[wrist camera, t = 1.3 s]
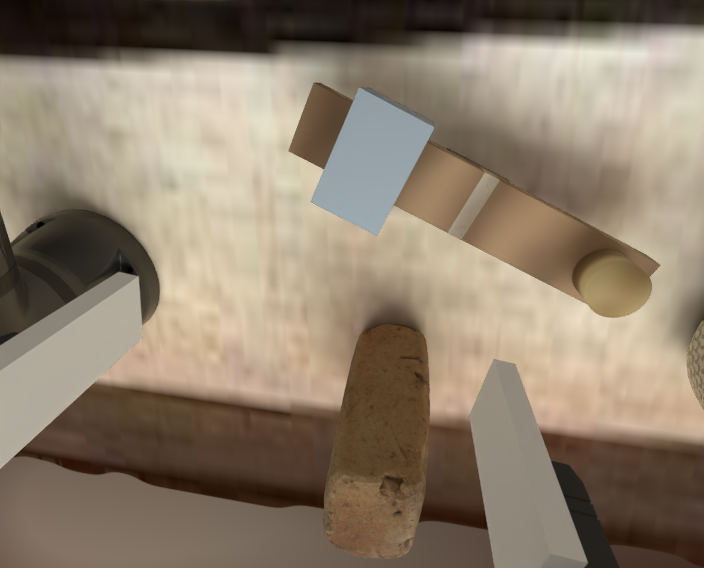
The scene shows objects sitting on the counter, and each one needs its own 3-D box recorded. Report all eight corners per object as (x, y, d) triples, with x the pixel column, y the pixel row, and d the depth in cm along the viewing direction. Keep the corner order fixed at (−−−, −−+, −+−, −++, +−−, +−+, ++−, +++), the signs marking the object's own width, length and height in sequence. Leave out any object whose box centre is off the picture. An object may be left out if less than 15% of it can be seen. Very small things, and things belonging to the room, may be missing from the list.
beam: (311, 140, 36) (275, 157, 27) (333, 83, 34) (302, 81, 25) (579, 279, 38) (628, 337, 29) (618, 234, 35) (684, 282, 27)
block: (362, 311, 43) (320, 469, 25) (432, 324, 42) (440, 494, 24) (351, 389, 48) (310, 568, 30) (414, 402, 47) (409, 591, 29)
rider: (326, 186, 31) (310, 202, 27) (369, 87, 28) (359, 87, 23) (383, 215, 32) (377, 235, 27) (432, 121, 28) (434, 127, 24)
